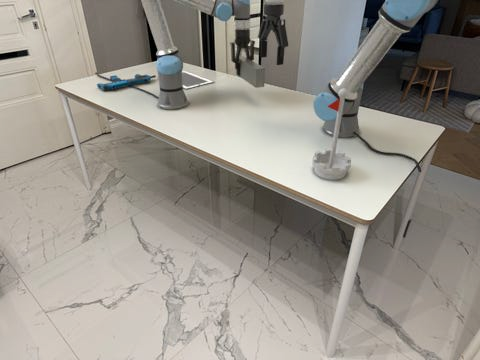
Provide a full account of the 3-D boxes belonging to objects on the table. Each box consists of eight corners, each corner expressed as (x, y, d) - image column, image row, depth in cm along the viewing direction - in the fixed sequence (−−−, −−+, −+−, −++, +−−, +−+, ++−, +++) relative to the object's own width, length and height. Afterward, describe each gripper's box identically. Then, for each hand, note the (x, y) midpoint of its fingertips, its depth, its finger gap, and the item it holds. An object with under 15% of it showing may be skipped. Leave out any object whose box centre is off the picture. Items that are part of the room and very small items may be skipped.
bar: (264, 86, 169) (264, 67, 164) (255, 87, 168) (256, 68, 163) (243, 73, 190) (243, 56, 185) (236, 74, 188) (235, 57, 183)
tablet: (158, 77, 218) (158, 76, 218) (185, 71, 229) (185, 70, 229) (186, 89, 198) (186, 88, 197) (213, 82, 209) (213, 81, 208)
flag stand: (334, 159, 128) (348, 80, 112) (356, 176, 118) (375, 92, 101) (304, 166, 124) (314, 84, 108) (324, 184, 114) (338, 97, 97)
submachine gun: (141, 68, 224) (160, 74, 207) (142, 74, 226) (160, 81, 209) (89, 78, 206) (105, 86, 189) (91, 85, 207) (106, 93, 191)
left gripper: (255, 26, 178) (254, 70, 191) (223, 28, 173) (225, 74, 186) (261, 28, 173) (260, 74, 185) (228, 31, 167) (230, 78, 180)
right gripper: (250, 0, 137) (249, 55, 149) (282, 7, 118) (279, 69, 130) (266, 0, 140) (264, 53, 151) (300, 6, 121) (295, 66, 132)
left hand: (242, 74), depth 185 cm, fingers closed on bar, 5 cm apart
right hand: (271, 60), depth 141 cm, fingers open, 13 cm apart
